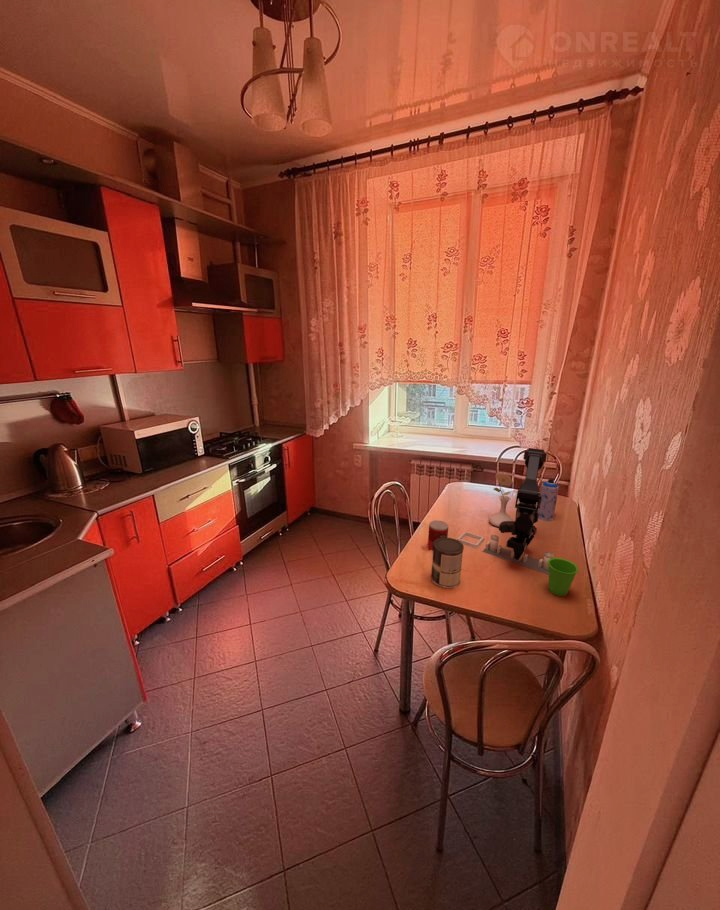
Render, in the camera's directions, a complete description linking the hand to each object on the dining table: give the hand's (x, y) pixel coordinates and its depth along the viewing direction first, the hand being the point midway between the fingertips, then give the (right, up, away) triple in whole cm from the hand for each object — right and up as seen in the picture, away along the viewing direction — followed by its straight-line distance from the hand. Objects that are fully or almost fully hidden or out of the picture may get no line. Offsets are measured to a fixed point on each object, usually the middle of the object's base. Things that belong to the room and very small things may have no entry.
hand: (519, 555), depth 139 cm
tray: (-15, +2, +13) cm, 20 cm away
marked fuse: (0, -1, 0) cm, 1 cm away
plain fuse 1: (-8, +1, +6) cm, 10 cm away
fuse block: (0, -2, +1) cm, 2 cm away
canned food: (-30, 0, +9) cm, 31 cm away
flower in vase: (+4, +6, +31) cm, 31 cm away
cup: (+5, -8, -18) cm, 20 cm away
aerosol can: (+29, +8, +37) cm, 48 cm away
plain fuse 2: (+8, -3, -6) cm, 10 cm away
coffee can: (-31, -6, -11) cm, 34 cm away
